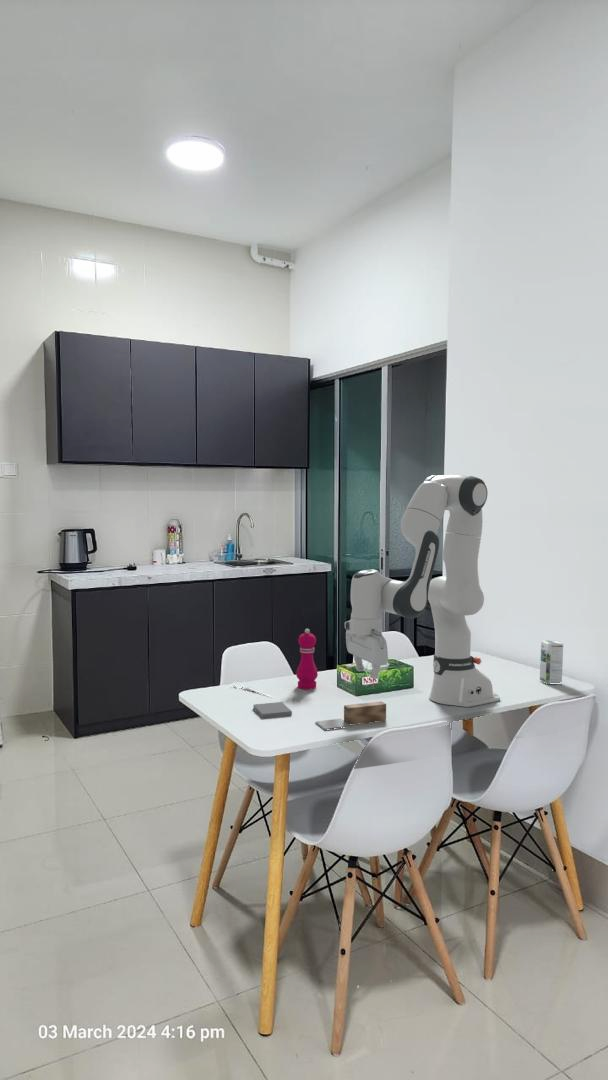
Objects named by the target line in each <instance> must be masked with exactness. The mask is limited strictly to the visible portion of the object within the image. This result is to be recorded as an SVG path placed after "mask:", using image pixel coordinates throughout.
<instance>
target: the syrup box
mask: <svg viewBox="0 0 608 1080" xmlns="http://www.w3.org/2000/svg"><path fill="white" fill-rule="evenodd" d="M563 657H564V643H561V642H559V641H556V640H549V639H548V640H547V639H545V640H541V641H540V658H539V659H540V661H539V681H540V680H541V681H542V683H543V682H545V683H547V684H550V683H560V682H562V683H563V661H564V660H563V659H564V658H563ZM541 681H540V682H541ZM545 683H544V684H545Z"/></svg>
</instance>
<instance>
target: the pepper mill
mask: <svg viewBox="0 0 608 1080" xmlns="http://www.w3.org/2000/svg"><path fill="white" fill-rule="evenodd" d="M310 630H311V629H309V628H305V629H304V633H302V634H299V637H298V640H297V641H298V644H299V646H300V647H299V653H300V656H301V657H300V662H299V665H298V667H297V668H296V669H297V670H296V678H297V679H298V681H297V689H298V688H299V689H300V688H301V689H302V690H313V688H314V689H316V688H317V681H316V679H317V678H318V675H319V674H318V673H319V672H318V669H317V666H316V663H315V662H314V653H315V647H314V646H315V645H316V643H317V637H316V636H315V635H314V634H313V633H311V631H310Z"/></svg>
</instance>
